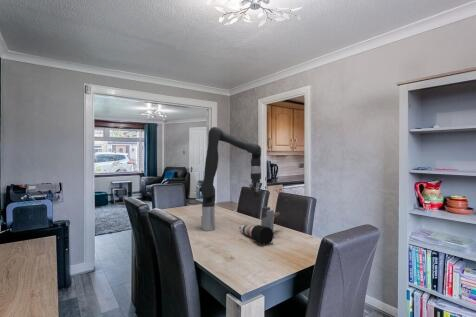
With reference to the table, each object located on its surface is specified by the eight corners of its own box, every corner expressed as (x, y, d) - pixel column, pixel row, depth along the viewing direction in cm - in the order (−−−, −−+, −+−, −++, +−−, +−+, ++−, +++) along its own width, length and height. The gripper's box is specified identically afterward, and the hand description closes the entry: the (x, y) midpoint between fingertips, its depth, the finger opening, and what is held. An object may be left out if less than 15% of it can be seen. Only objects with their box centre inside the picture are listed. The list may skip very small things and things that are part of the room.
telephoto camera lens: (243, 237, 188) (248, 223, 191) (270, 246, 157) (275, 230, 160) (232, 232, 184) (237, 218, 187) (257, 241, 154) (262, 224, 157)
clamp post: (261, 236, 174) (261, 209, 174) (264, 235, 177) (264, 208, 177) (270, 238, 170) (270, 211, 169) (273, 237, 173) (273, 210, 172)
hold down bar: (261, 218, 174) (261, 207, 174) (275, 214, 187) (275, 203, 187) (266, 219, 172) (266, 208, 172) (279, 214, 185) (279, 204, 185)
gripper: (256, 171, 192) (257, 195, 192) (246, 172, 181) (246, 197, 182) (265, 172, 187) (265, 196, 187) (254, 173, 177) (254, 198, 177)
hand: (255, 196), depth 184 cm, fingers closed
